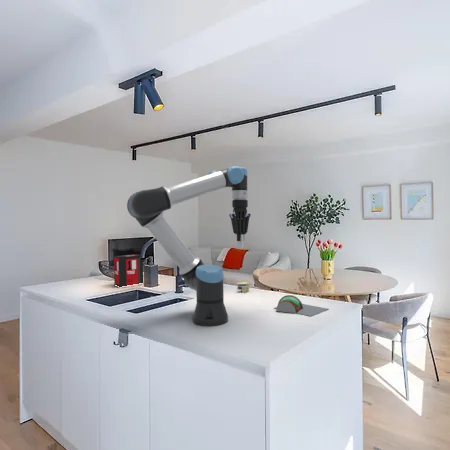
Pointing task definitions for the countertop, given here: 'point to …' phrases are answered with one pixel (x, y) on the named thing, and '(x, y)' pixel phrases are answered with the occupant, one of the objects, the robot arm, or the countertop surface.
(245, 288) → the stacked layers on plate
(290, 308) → the food container
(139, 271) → the cleaning product box
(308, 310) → the rubber mat
